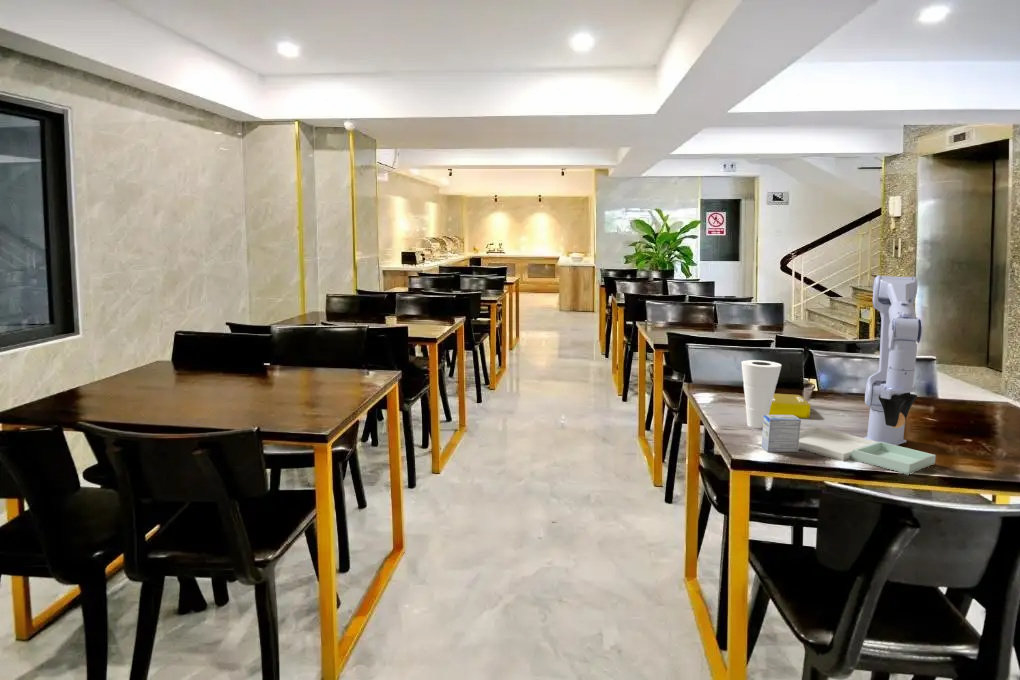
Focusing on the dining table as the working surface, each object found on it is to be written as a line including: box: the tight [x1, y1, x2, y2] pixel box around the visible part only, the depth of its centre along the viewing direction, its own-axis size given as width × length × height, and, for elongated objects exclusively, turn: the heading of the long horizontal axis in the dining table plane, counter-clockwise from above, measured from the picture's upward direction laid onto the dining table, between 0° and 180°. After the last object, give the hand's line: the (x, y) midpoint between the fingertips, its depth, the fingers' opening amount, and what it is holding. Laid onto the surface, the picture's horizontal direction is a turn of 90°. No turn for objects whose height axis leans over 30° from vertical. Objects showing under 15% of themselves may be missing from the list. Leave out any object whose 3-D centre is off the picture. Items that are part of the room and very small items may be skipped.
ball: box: [891, 413, 906, 428], centre depth 177 cm, size 4×4×4 cm
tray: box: [798, 426, 877, 462], centre depth 191 cm, size 18×18×2 cm
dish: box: [851, 442, 937, 476], centre depth 178 cm, size 13×13×2 cm
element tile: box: [769, 392, 812, 419], centre depth 227 cm, size 15×15×5 cm
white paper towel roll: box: [740, 359, 782, 429], centre depth 207 cm, size 11×11×18 cm
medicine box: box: [761, 415, 802, 453], centre depth 186 cm, size 8×4×9 cm, turn 92°
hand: (895, 424), depth 177 cm, fingers closed on ball, 4 cm apart
